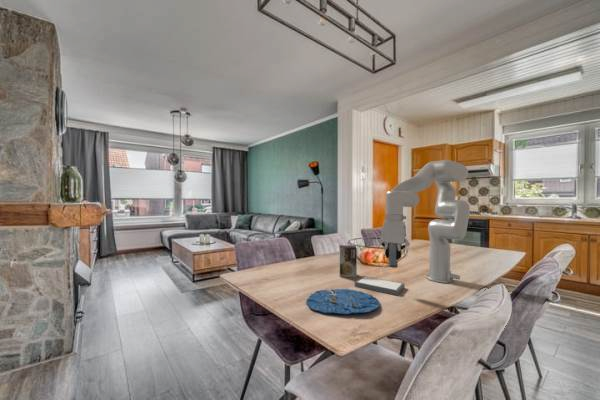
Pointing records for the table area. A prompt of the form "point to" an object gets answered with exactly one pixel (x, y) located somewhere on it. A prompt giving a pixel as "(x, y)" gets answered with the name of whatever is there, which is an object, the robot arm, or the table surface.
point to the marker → (393, 255)
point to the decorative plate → (342, 301)
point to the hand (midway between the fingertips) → (393, 258)
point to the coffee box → (347, 261)
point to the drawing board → (380, 285)
